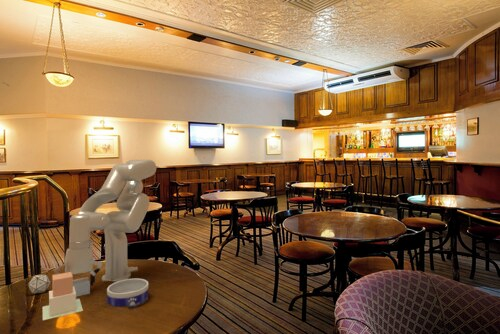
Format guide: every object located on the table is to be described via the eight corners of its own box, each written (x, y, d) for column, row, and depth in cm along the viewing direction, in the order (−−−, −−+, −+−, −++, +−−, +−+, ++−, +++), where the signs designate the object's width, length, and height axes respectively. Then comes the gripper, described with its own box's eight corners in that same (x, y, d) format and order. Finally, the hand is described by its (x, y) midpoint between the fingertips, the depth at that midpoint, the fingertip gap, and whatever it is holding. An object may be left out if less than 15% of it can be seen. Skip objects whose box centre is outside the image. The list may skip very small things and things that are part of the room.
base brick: (74, 301, 116) (73, 286, 116) (76, 309, 110) (75, 293, 110) (49, 307, 112) (49, 291, 112) (49, 316, 105) (49, 299, 105)
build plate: (79, 301, 119) (79, 298, 119) (82, 313, 109) (82, 310, 109) (42, 309, 112) (42, 306, 112) (42, 323, 102) (42, 320, 102)
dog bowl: (117, 313, 109) (117, 297, 109) (100, 301, 120) (100, 285, 120) (155, 300, 120) (155, 284, 120) (137, 289, 131) (137, 275, 131)
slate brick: (88, 291, 129) (87, 277, 129) (89, 296, 124) (89, 281, 124) (71, 294, 125) (71, 280, 125) (72, 299, 120) (72, 284, 120)
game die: (40, 303, 125) (34, 290, 119) (24, 294, 127) (18, 281, 121) (58, 286, 132) (54, 272, 126) (43, 278, 134) (38, 264, 128)
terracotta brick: (71, 287, 115) (71, 271, 115) (72, 293, 110) (72, 276, 110) (52, 291, 112) (52, 275, 112) (53, 297, 107) (53, 280, 107)
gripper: (101, 241, 132) (100, 280, 132) (54, 245, 122) (52, 288, 122) (104, 244, 126) (103, 286, 125) (55, 249, 116) (53, 294, 116)
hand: (78, 287), depth 124 cm, fingers open, 9 cm apart
